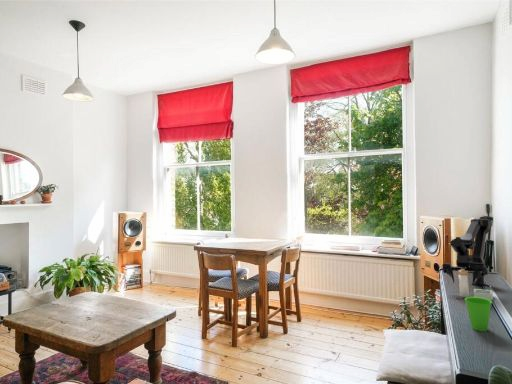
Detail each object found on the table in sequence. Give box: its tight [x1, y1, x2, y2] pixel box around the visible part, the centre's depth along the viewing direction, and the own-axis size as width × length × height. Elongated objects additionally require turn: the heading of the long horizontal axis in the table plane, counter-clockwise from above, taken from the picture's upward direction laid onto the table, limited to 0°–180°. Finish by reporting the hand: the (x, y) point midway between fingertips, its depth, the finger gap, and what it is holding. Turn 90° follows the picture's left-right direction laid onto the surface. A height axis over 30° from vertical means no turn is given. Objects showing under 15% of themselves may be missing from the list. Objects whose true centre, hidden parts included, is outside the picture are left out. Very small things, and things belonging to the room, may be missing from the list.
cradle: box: [473, 288, 494, 302], centre depth 165 cm, size 8×8×3 cm
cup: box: [464, 296, 493, 332], centre depth 129 cm, size 9×9×11 cm
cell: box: [458, 269, 470, 298], centre depth 169 cm, size 4×4×14 cm
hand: (463, 283), depth 168 cm, fingers open, 8 cm apart
